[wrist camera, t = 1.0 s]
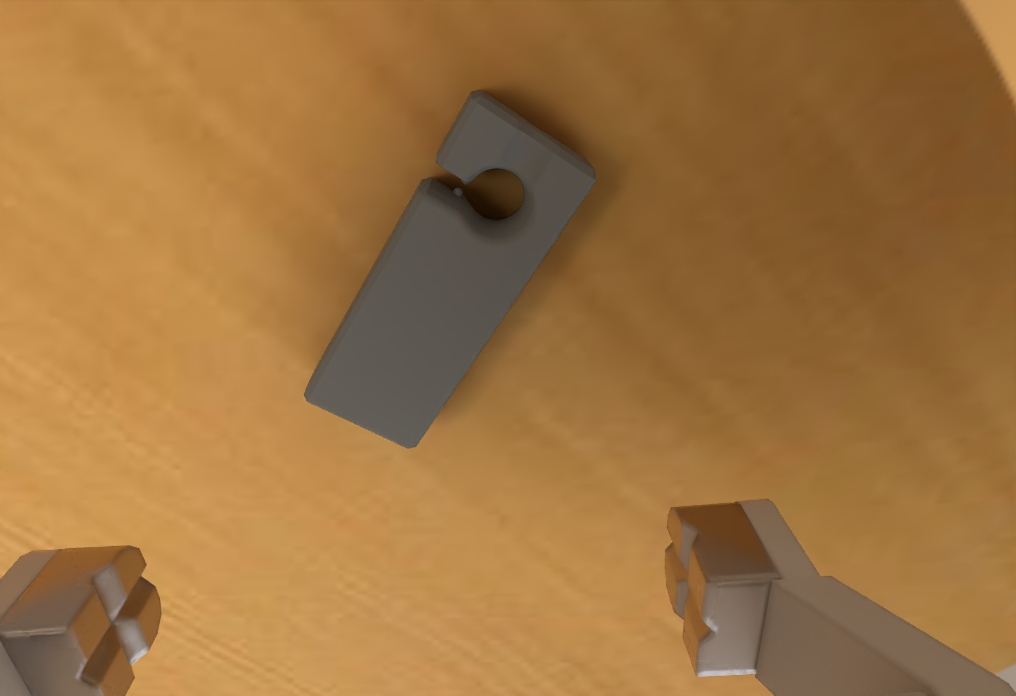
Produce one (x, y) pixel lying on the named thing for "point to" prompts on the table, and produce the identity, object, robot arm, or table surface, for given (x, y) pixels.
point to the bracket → (447, 276)
